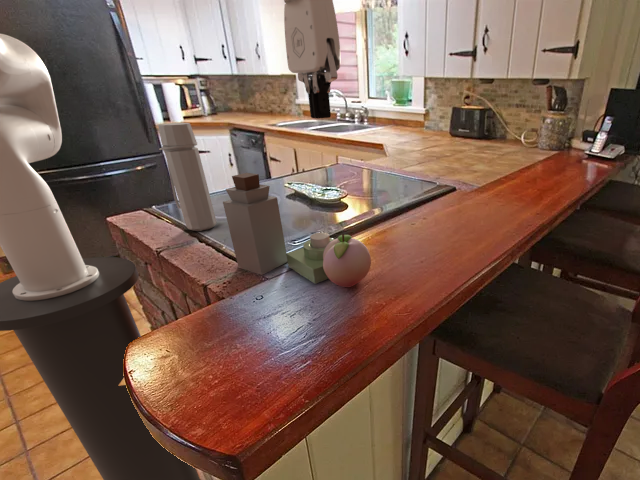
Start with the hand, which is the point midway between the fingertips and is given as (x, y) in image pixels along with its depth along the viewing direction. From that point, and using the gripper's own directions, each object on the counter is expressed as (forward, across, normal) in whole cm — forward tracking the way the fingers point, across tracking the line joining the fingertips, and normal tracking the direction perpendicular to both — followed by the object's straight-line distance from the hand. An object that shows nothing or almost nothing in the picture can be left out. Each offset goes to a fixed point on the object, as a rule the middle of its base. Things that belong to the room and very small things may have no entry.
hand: (320, 117), depth 65 cm
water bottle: (+27, -40, -15) cm, 51 cm away
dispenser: (+27, +3, -5) cm, 28 cm away
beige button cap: (+23, +3, -5) cm, 23 cm away
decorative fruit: (+27, +13, -6) cm, 31 cm away
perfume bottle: (+27, -7, -13) cm, 31 cm away
